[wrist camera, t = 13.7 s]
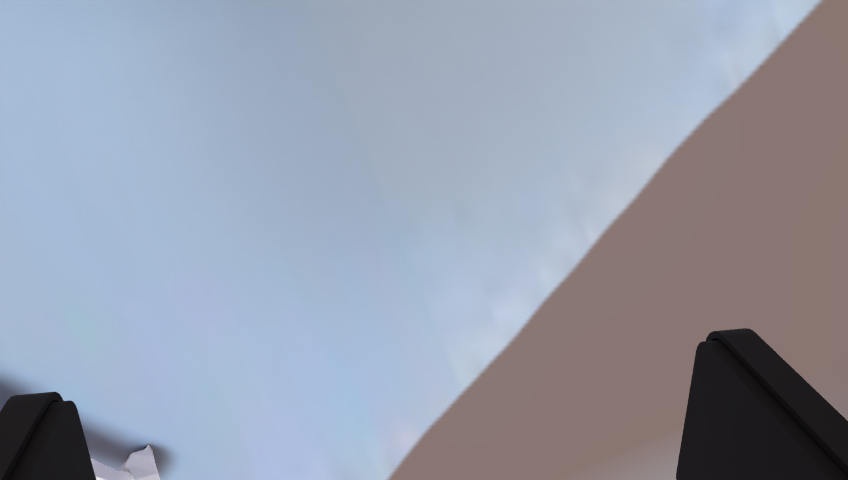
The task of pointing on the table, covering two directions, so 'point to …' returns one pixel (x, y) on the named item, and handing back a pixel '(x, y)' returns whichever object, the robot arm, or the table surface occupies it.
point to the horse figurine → (130, 467)
